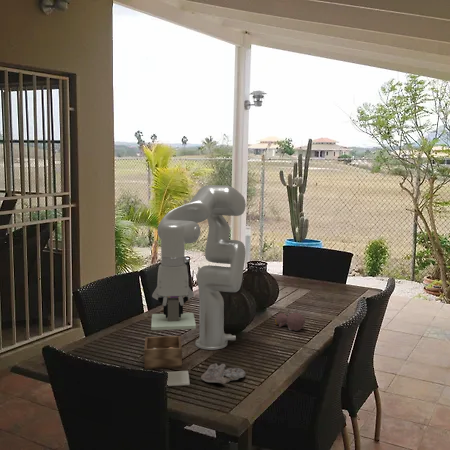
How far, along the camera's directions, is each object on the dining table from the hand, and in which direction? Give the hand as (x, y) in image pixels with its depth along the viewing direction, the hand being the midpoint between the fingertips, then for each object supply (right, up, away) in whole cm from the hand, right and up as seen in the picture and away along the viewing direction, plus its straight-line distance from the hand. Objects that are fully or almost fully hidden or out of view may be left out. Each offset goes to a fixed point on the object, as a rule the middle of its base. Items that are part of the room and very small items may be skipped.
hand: (173, 315), depth 174 cm
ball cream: (-9, -17, +20) cm, 28 cm away
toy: (+45, -15, +56) cm, 74 cm away
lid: (0, -2, 0) cm, 2 cm away
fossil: (+16, -22, +5) cm, 28 cm away
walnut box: (-5, -20, +18) cm, 27 cm away
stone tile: (0, -22, +3) cm, 22 cm away
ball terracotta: (-3, -17, +21) cm, 27 cm away
